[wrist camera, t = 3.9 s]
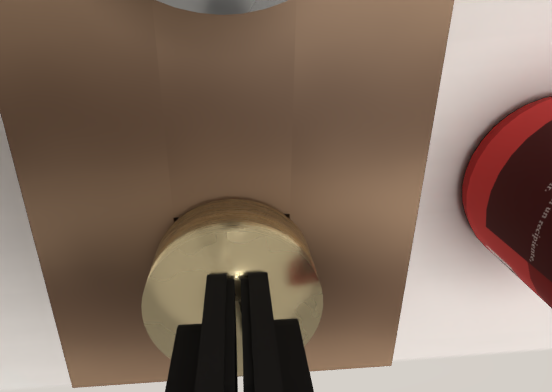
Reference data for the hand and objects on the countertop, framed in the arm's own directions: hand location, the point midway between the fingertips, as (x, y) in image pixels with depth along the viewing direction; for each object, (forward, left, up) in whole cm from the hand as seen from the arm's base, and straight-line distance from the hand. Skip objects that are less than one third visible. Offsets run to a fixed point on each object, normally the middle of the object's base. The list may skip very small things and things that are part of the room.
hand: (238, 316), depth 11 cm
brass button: (0, 0, -6) cm, 6 cm away
